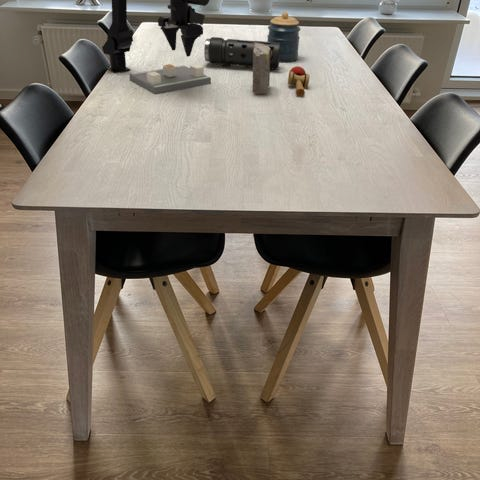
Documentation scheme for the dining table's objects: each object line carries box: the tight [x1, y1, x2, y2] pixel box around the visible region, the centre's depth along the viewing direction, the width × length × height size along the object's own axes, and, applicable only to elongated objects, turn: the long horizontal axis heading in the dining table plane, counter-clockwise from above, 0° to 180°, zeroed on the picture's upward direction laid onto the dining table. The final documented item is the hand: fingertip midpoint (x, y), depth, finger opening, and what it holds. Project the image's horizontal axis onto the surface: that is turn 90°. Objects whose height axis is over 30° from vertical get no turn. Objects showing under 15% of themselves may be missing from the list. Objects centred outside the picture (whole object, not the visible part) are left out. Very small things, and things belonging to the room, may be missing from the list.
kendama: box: [287, 65, 311, 98], centre depth 179 cm, size 8×6×18 cm
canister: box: [266, 11, 301, 63], centre depth 208 cm, size 13×13×18 cm
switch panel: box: [129, 64, 212, 95], centre depth 181 cm, size 18×22×5 cm
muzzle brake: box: [203, 36, 281, 71], centre depth 197 cm, size 10×28×10 cm, turn 82°
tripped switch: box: [162, 63, 177, 77], centre depth 180 cm, size 4×3×3 cm
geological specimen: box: [252, 42, 272, 94], centre depth 173 cm, size 11×6×15 cm, turn 173°
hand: (180, 53), depth 171 cm, fingers open, 9 cm apart
